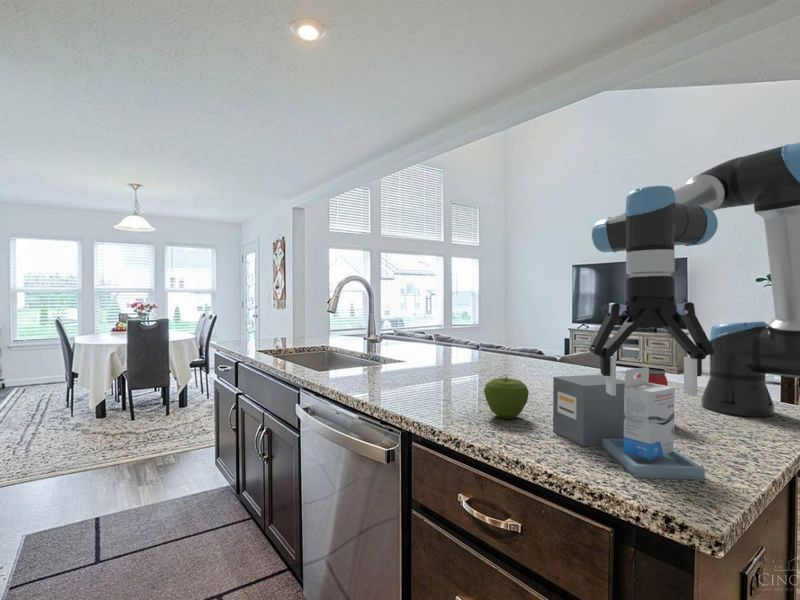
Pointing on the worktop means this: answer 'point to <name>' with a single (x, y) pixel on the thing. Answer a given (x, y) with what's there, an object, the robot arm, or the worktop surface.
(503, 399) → the apple
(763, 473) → the worktop surface
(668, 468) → the tray
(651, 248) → the robot arm
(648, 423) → the ink box
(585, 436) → the box
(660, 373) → the beer can
